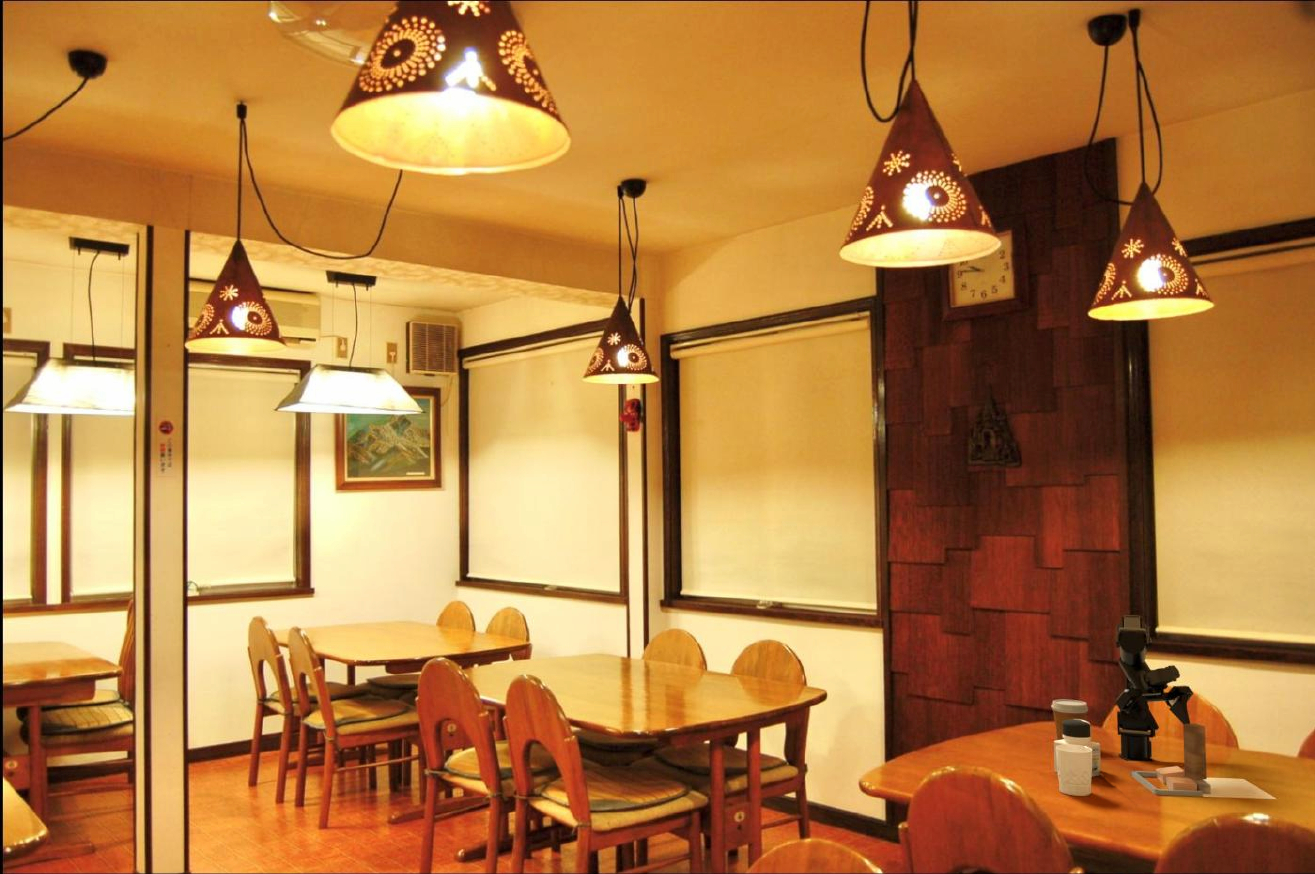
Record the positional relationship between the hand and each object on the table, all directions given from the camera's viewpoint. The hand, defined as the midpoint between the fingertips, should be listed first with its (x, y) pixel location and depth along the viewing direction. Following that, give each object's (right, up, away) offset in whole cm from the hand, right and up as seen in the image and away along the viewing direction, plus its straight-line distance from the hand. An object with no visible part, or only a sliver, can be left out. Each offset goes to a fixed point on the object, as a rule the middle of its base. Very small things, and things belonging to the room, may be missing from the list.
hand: (1173, 727), depth 248 cm
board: (+7, -13, -9) cm, 17 cm away
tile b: (-2, -12, -3) cm, 13 cm away
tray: (-5, -13, -7) cm, 15 cm away
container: (-20, -14, +8) cm, 25 cm away
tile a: (-3, -12, -11) cm, 17 cm away
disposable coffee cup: (-10, -16, +36) cm, 41 cm away
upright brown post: (+1, -11, -8) cm, 14 cm away
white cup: (-27, -13, -8) cm, 31 cm away
